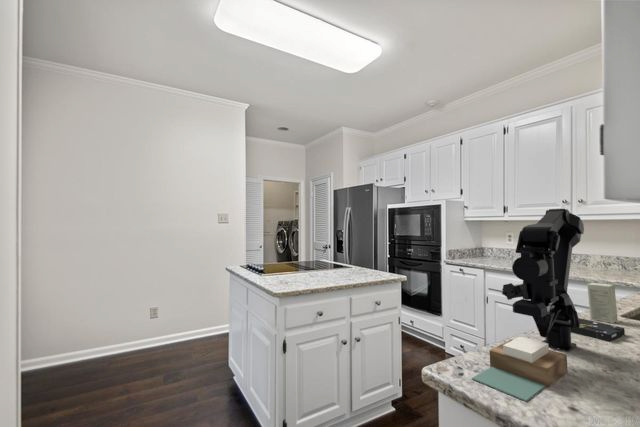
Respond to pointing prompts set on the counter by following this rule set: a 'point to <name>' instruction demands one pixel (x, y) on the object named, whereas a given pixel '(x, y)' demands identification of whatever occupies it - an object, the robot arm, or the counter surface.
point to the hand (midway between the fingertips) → (543, 336)
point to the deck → (531, 366)
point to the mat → (509, 383)
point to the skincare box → (602, 302)
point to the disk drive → (598, 330)
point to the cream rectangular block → (526, 349)
